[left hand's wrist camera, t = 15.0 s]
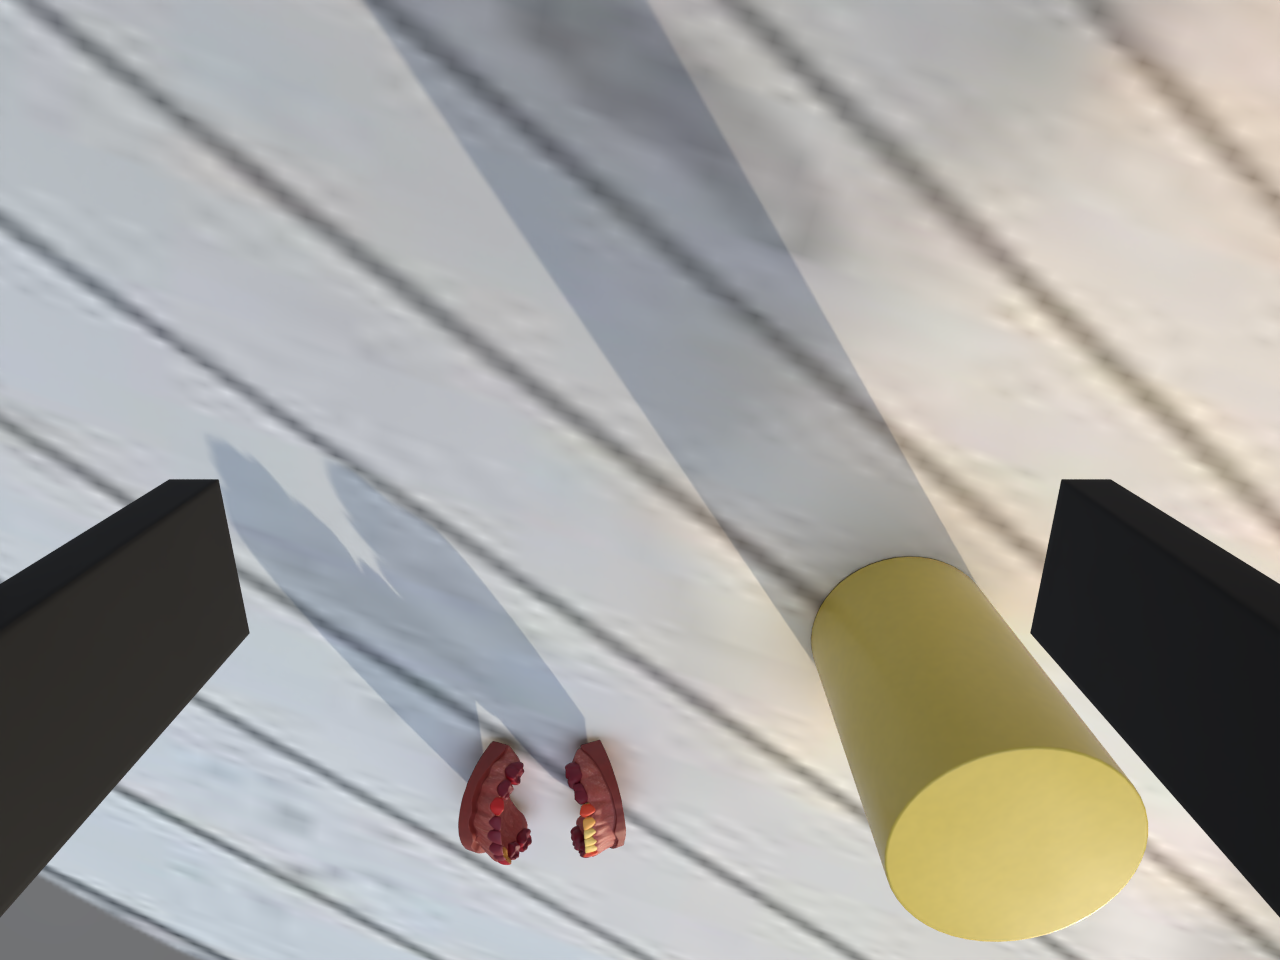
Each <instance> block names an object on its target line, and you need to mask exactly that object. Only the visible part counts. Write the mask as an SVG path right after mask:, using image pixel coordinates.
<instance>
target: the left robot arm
mask: <svg viewBox="0 0 1280 960" xmlns="http://www.w3.org/2000/svg"><path fill="white" fill-rule="evenodd" d="M248 634H249V628H248V623H247V618H246V613H245V608H244V603H243V598H242V593H241V588H240V583H239V578H238V573H237V569H236V564H235V559H234V554H233V549H232V544H231V539H230V534H229V529H228V524H227V519H226V514H225V509H224V504H223V499H222V494H221V489H220V484H219V480H218V479H169V480H168V481H166V482H164V483H163V484H161V485H160V486H158V487H156V488H155V489H153V490H151V491H150V492H148V493H147V494H145V495H143V496H142V497H140V498H139V499H137V500H135V501H134V502H132V503H130V504H129V505H127V506H126V507H124V508H122V509H121V510H119V511H118V512H116V513H114V514H113V515H111V516H109V517H108V518H106V519H105V520H103V521H101V522H100V523H98V524H97V525H95V526H93V527H92V528H90V529H88V530H87V531H85V532H84V533H82V534H80V535H79V536H77V537H76V538H74V539H72V540H71V541H69V542H67V543H66V544H64V545H63V546H61V547H59V548H58V549H56V550H55V551H53V552H51V553H50V554H48V555H46V556H45V557H43V558H42V559H40V560H38V561H37V562H35V563H34V564H32V565H30V566H29V567H27V568H25V569H24V570H22V571H21V572H19V573H17V574H16V575H14V576H13V577H11V578H9V579H8V580H6V581H4V582H3V583H1V584H0V917H1V916H2V915H3V914H4V912H5V911H6V910H7V909H8V908H9V907H10V906H11V904H12V903H13V902H14V901H15V900H16V899H17V898H18V896H19V895H20V894H21V893H22V892H23V891H24V890H25V888H26V887H27V886H28V885H29V884H30V883H31V882H32V881H33V879H34V878H35V877H36V876H37V875H38V874H39V873H40V871H41V870H42V869H43V868H44V867H45V866H46V865H47V863H48V862H49V861H50V860H51V859H52V858H53V857H54V855H55V854H56V853H57V852H58V851H59V850H60V849H61V847H62V846H63V845H64V844H65V843H66V842H67V841H68V840H69V838H70V837H71V836H72V835H73V834H74V833H75V832H76V830H77V829H78V828H79V827H80V826H81V825H82V824H83V822H84V821H85V820H86V819H87V818H88V817H89V816H90V814H91V813H92V812H93V811H94V810H95V809H96V808H97V806H98V805H99V804H100V803H101V802H102V801H103V800H104V798H105V797H106V796H107V795H108V794H109V793H110V792H111V790H112V789H113V788H114V787H115V786H116V785H117V784H118V783H119V781H120V780H121V779H122V778H123V777H124V776H125V775H126V773H127V772H128V771H129V770H130V769H131V768H132V767H133V765H134V764H135V763H136V762H137V761H138V760H139V759H140V757H141V756H142V755H143V754H144V753H145V752H146V751H147V749H148V748H149V747H150V746H151V745H152V744H153V743H154V741H155V740H156V739H157V738H158V737H159V736H160V735H161V734H162V732H163V731H164V730H165V729H166V728H167V727H168V726H169V724H170V723H171V722H172V721H173V720H174V719H175V718H176V716H177V715H178V714H179V713H180V712H181V711H182V710H183V708H184V707H185V706H186V705H187V704H188V703H189V702H190V700H191V699H192V698H193V697H194V696H195V695H196V694H197V692H198V691H199V690H200V689H201V688H202V687H203V686H204V685H205V683H206V682H207V681H208V680H209V679H210V678H211V677H212V675H213V674H214V673H215V672H216V671H217V670H218V669H219V667H220V666H221V665H222V664H223V663H224V662H225V661H226V659H227V658H228V657H229V656H230V655H231V654H232V653H233V651H234V650H235V649H236V648H237V647H238V646H239V645H240V643H241V642H242V641H243V640H244V639H245V638H246V637H247V635H248ZM1031 634H1032V635H1033V637H1034V638H1035V639H1036V640H1037V641H1038V642H1039V643H1040V645H1041V646H1042V647H1043V648H1044V649H1045V650H1046V651H1047V653H1048V654H1049V655H1050V656H1051V657H1052V658H1053V659H1054V661H1055V662H1056V663H1057V664H1058V665H1059V666H1060V667H1061V669H1062V670H1063V671H1064V672H1065V673H1066V674H1067V675H1068V677H1069V678H1070V679H1071V680H1072V681H1073V682H1074V683H1075V685H1076V686H1077V687H1078V688H1079V689H1080V690H1081V691H1082V692H1083V694H1084V695H1085V696H1086V697H1087V698H1088V699H1089V700H1090V702H1091V703H1092V704H1093V705H1094V706H1095V707H1096V708H1097V710H1098V711H1099V712H1100V713H1101V714H1102V715H1103V716H1104V718H1105V719H1106V720H1107V721H1108V722H1109V723H1110V724H1111V726H1112V727H1113V728H1114V729H1115V730H1116V731H1117V732H1118V734H1119V735H1120V736H1121V737H1122V738H1123V739H1124V740H1125V741H1126V743H1127V744H1128V745H1129V746H1130V747H1131V748H1132V749H1133V751H1134V752H1135V753H1136V754H1137V755H1138V756H1139V757H1140V759H1141V760H1142V761H1143V762H1144V763H1145V764H1146V765H1147V767H1148V768H1149V769H1150V770H1151V771H1152V772H1153V773H1154V775H1155V776H1156V777H1157V778H1158V779H1159V780H1160V781H1161V783H1162V784H1163V785H1164V786H1165V787H1166V788H1167V789H1168V790H1169V792H1170V793H1171V794H1172V795H1173V796H1174V797H1175V798H1176V800H1177V801H1178V802H1179V803H1180V804H1181V805H1182V806H1183V808H1184V809H1185V810H1186V811H1187V812H1188V813H1189V814H1190V816H1191V817H1192V818H1193V819H1194V820H1195V821H1196V822H1197V824H1198V825H1199V826H1200V827H1201V828H1202V829H1203V830H1204V832H1205V833H1206V834H1207V835H1208V836H1209V837H1210V838H1211V840H1212V841H1213V842H1214V843H1215V844H1216V845H1217V846H1218V847H1219V849H1220V850H1221V851H1222V852H1223V853H1224V854H1225V855H1226V857H1227V858H1228V859H1229V860H1230V861H1231V862H1232V863H1233V865H1234V866H1235V867H1236V868H1237V869H1238V870H1239V871H1240V873H1241V874H1242V875H1243V876H1244V877H1245V878H1246V879H1247V881H1248V882H1249V883H1250V884H1251V885H1252V886H1253V887H1254V889H1255V890H1256V891H1257V892H1258V893H1259V894H1260V895H1261V896H1262V898H1263V899H1264V900H1265V901H1266V902H1267V903H1268V904H1269V906H1270V907H1271V908H1272V909H1273V910H1274V911H1275V912H1276V914H1277V915H1278V916H1279V917H1280V584H1279V583H1277V582H1276V581H1274V580H1272V579H1271V578H1269V577H1267V576H1266V575H1264V574H1263V573H1261V572H1259V571H1258V570H1256V569H1255V568H1253V567H1251V566H1250V565H1248V564H1246V563H1245V562H1243V561H1242V560H1240V559H1238V558H1237V557H1235V556H1234V555H1232V554H1230V553H1229V552H1227V551H1225V550H1224V549H1222V548H1221V547H1219V546H1217V545H1216V544H1214V543H1213V542H1211V541H1209V540H1208V539H1206V538H1204V537H1203V536H1201V535H1200V534H1198V533H1196V532H1195V531H1193V530H1192V529H1190V528H1188V527H1187V526H1185V525H1183V524H1182V523H1180V522H1179V521H1177V520H1175V519H1174V518H1172V517H1171V516H1169V515H1167V514H1166V513H1164V512H1162V511H1161V510H1159V509H1158V508H1156V507H1154V506H1153V505H1151V504H1150V503H1148V502H1146V501H1145V500H1143V499H1141V498H1140V497H1138V496H1137V495H1135V494H1133V493H1132V492H1130V491H1129V490H1127V489H1125V488H1124V487H1122V486H1120V485H1119V484H1117V483H1116V482H1114V481H1112V480H1111V479H1062V480H1061V484H1060V489H1059V494H1058V499H1057V504H1056V509H1055V514H1054V519H1053V524H1052V529H1051V534H1050V539H1049V544H1048V549H1047V554H1046V559H1045V564H1044V569H1043V573H1042V578H1041V583H1040V588H1039V593H1038V598H1037V603H1036V608H1035V613H1034V618H1033V623H1032V628H1031Z"/></svg>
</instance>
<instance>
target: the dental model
mask: <svg viewBox="0 0 1280 960" xmlns="http://www.w3.org/2000/svg"><path fill="white" fill-rule="evenodd" d="M565 769H566V778H567V779H568V785H569V787H570V788H572V789H573V790H574V791H575V792H574V793H575V800H576V801H577V802H578V803H579V804H581V805H582V804H583V805H582V806H581V810H580V815H581V816H580V817H579V818H578V819H577V821H576V825H577V826H575V827H574V828H572V830H571V839H572V841H573V846H574V848H575V849H576V850H578V851H579V853H580V856H581V857H583V858H589V857H591V856H592V857H593V856H596V855H598V854H599V853H601V852H602V851H604V850H605V849H607V848H609V847H610V848H612V849H614V848H617V847H620V846H623V845H624V841H625V836H626V827H625V819H624V813H623V807H622V801H621V796H620V792H619V789H618V785H617V781H616V778H615V775H614V772H613V769H612V766H611V763H610V761H609V758H608V756H607V754H606V751H605V749H604V747H603V745H602V743H601V741H600V740H597V741H594V742H590V743H587V744H583V745H581V748H579V749H578V750H577V752H576V754H575V756H574V759H573V762H572V763H569V764H567V765H566V766H565ZM523 773H524V769H523V763H522V762H520V760H519V758H518V757H517V755H516V754H515V753H514V751H513V750H512V749H511V748H510V746H508V745H506V744H502V743H498V742H495V741H493V742H492V743H491V744H490V745H489V746H488V748H487V749H486V750H485V752H484V753H483V755H482V756H481V758H480V759H479V761H478V763H477V765H476V767H475V768H474V770H473V773H472V775H471V777H470V779H469V781H468V783H467V787H466V789H465V792H464V795H463V798H462V802H461V807H460V814H459V822H458V828H459V837H460V840H461V843H462V845H463V846H464V847H465V848H466V849H467V850H470V851H473V852H476V853H485V852H486V853H487V854H488V855H489V856H490V857H491V858H492V859H493V860H494V861H496V862H499V863H500V864H503V865H510V864H511V860H515V859H516V858H518V857H519V852H524V851H525V850H526V849H527V848H528V846H529V845H530V844H531V843H532V839H531V836H530V832H531V830H530V829H527V821H526V819H525V817H524V815H523V814H522V813H521V812H520V811H519V810H518V809H517V808H516V807H515V806H514V804H513V803H512V801H511V799H510V797H509V795H510V794H511V793H512V791H513V790H514V789H513V787H512V785H518V784H520V777H521V776H522V774H523ZM585 803H586V804H585Z"/></svg>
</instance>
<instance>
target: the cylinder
mask: <svg viewBox="0 0 1280 960" xmlns="http://www.w3.org/2000/svg"><path fill="white" fill-rule="evenodd" d="M811 646H812V653H813V658H814V661H815V664H816V667H817V670H818V673H819V676H820V679H821V682H822V685H823V688H824V691H825V694H826V697H827V700H828V703H829V706H830V709H831V712H832V715H833V718H834V721H835V724H836V727H837V730H838V733H839V736H840V739H841V742H842V745H843V748H844V751H845V754H846V757H847V760H848V763H849V766H850V769H851V772H852V775H853V778H854V781H855V784H856V787H857V790H858V793H859V796H860V799H861V802H862V805H863V808H864V811H865V814H866V817H867V820H868V823H869V826H870V829H871V832H872V835H873V838H874V841H875V844H876V847H877V850H878V853H879V856H880V859H881V862H882V865H883V868H884V871H885V874H886V877H887V880H888V882H889V885H890V888H891V890H892V891H893V893H894V895H895V896H896V898H897V899H898V901H899V902H900V903H901V904H902V906H903V907H904V908H905V909H906V910H907V911H908V912H909V913H911V914H912V915H913V916H914V917H915V918H916V919H918V920H920V921H921V922H923V923H924V924H926V925H927V926H929V927H931V928H933V929H936V930H938V931H940V932H943V933H946V934H948V935H951V936H955V937H959V938H964V939H969V940H977V941H992V942H1001V941H1016V940H1022V939H1029V938H1034V937H1038V936H1042V935H1046V934H1049V933H1052V932H1055V931H1058V930H1061V929H1064V928H1066V927H1068V926H1070V925H1073V924H1075V923H1077V922H1079V921H1081V920H1083V919H1084V918H1086V917H1088V916H1090V915H1092V914H1093V913H1094V912H1096V911H1097V910H1099V909H1100V908H1102V907H1103V906H1104V905H1106V904H1107V903H1108V902H1109V901H1110V900H1111V899H1113V898H1114V897H1115V896H1116V895H1117V894H1118V893H1119V892H1120V891H1121V890H1122V889H1123V888H1124V886H1125V885H1126V884H1127V883H1128V882H1129V880H1130V879H1131V877H1132V876H1133V875H1134V873H1135V871H1136V870H1137V868H1138V866H1139V864H1140V862H1141V860H1142V857H1143V854H1144V851H1145V849H1146V844H1147V838H1148V820H1147V815H1146V810H1145V806H1144V804H1143V801H1142V799H1141V796H1140V795H1139V793H1138V792H1137V790H1136V789H1135V787H1134V785H1133V784H1132V783H1131V782H1130V780H1129V779H1128V778H1127V776H1126V775H1125V774H1124V773H1123V771H1122V770H1121V769H1120V767H1119V766H1118V765H1117V764H1116V762H1115V761H1114V760H1113V759H1112V757H1111V756H1110V755H1109V753H1108V752H1107V751H1106V750H1105V748H1104V747H1103V746H1102V745H1101V743H1100V742H1099V741H1098V739H1097V738H1096V737H1095V736H1094V734H1093V733H1092V732H1091V730H1090V729H1089V728H1088V727H1087V725H1086V724H1085V723H1084V722H1083V720H1082V719H1081V718H1080V716H1079V715H1078V714H1077V713H1076V711H1075V710H1074V709H1073V707H1072V706H1071V705H1070V704H1069V702H1068V701H1067V700H1066V699H1065V697H1064V696H1063V695H1062V693H1061V692H1060V691H1059V690H1058V688H1057V687H1056V686H1055V684H1054V683H1053V682H1052V681H1051V679H1050V678H1049V677H1048V676H1047V674H1046V673H1045V672H1044V670H1043V669H1042V668H1041V667H1040V665H1039V664H1038V663H1037V662H1036V660H1035V659H1034V658H1033V656H1032V655H1031V654H1030V653H1029V651H1028V650H1027V649H1026V647H1025V646H1024V645H1023V644H1022V642H1021V641H1020V640H1019V639H1018V637H1017V636H1016V635H1015V633H1014V632H1013V631H1012V630H1011V628H1010V627H1009V626H1008V624H1007V623H1006V622H1005V621H1004V619H1003V618H1002V617H1001V616H1000V614H999V613H998V612H997V610H996V609H995V608H994V607H993V605H992V604H991V603H990V601H989V600H988V599H987V598H986V596H985V595H984V594H983V593H982V591H981V590H980V589H979V587H978V586H977V585H976V584H975V583H974V582H973V581H972V580H971V579H970V578H969V577H968V576H967V575H966V574H964V573H963V572H962V571H960V570H958V569H957V568H955V567H953V566H951V565H949V564H946V563H944V562H941V561H937V560H934V559H929V558H922V557H899V558H892V559H887V560H883V561H880V562H876V563H873V564H871V565H868V566H866V567H864V568H862V569H860V570H858V571H856V572H855V573H853V574H851V575H850V576H848V577H847V578H846V579H844V580H843V581H842V582H841V583H840V584H839V585H837V586H836V587H835V588H834V589H833V590H832V592H831V593H830V594H829V595H828V597H827V598H826V599H825V601H824V602H823V604H822V605H821V607H820V609H819V611H818V613H817V616H816V618H815V621H814V625H813V628H812V636H811Z"/></svg>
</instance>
